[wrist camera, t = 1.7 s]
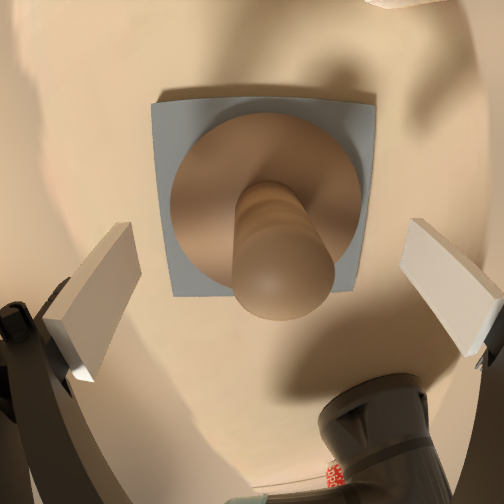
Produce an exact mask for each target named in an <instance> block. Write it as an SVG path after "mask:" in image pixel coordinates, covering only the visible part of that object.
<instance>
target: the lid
mask: <svg viewBox="0 0 504 504" xmlns="http://www.w3.org/2000/svg"><path fill="white" fill-rule="evenodd" d="M360 213H361V190H360V185H359V180H358V177H357V174H356V171H355V168H354V166H353V164H352V162H351V160H350V158H349V157H348V155H347V154H346V152H345V151H344V150H343V148H342V147H341V146H340V144H339V143H338V142H337V141H336V140H335V139H334V138H333V137H332V136H330V135H329V134H328V133H326V132H325V131H324V130H322V129H321V128H319V127H318V126H316V125H314V124H312V123H310V122H308V121H306V120H303V119H300V118H298V117H294V116H290V115H286V114H279V113H253V114H248V115H243V116H239V117H236V118H233V119H231V120H228V121H226V122H224V123H222V124H220V125H218V126H216V127H215V128H214V129H212V130H211V131H209V132H208V133H207V134H205V135H204V136H203V137H202V138H201V139H199V140H198V141H197V142H196V143H195V144H194V145H193V147H192V148H191V149H190V150H189V152H188V153H187V154H186V155H185V157H184V159H183V160H182V162H181V164H180V166H179V168H178V170H177V173H176V175H175V178H174V181H173V185H172V189H171V196H170V216H171V222H172V227H173V230H174V233H175V236H176V239H177V241H178V243H179V245H180V247H181V249H182V250H183V252H184V253H185V255H186V256H187V258H188V259H189V260H190V261H191V262H192V263H193V264H194V266H195V267H197V268H198V269H199V270H200V271H201V272H202V273H203V274H205V275H206V276H208V277H209V278H211V279H212V280H214V281H216V282H217V283H219V284H221V285H223V286H226V287H229V288H231V289H233V292H234V295H235V297H236V299H237V300H238V302H239V303H240V304H241V306H242V307H243V308H244V309H246V310H247V311H248V312H250V313H251V314H253V315H255V316H257V317H260V318H263V319H267V320H273V321H285V320H291V319H296V318H299V317H302V316H304V315H306V314H308V313H310V312H312V311H313V310H315V309H316V308H317V307H318V306H320V305H321V304H322V303H323V301H324V300H325V299H326V298H327V296H328V295H329V293H330V291H331V289H332V287H333V284H334V280H335V267H334V265H335V264H336V263H337V262H338V260H339V259H340V258H341V257H342V256H343V254H344V253H345V251H346V250H347V248H348V247H349V245H350V243H351V241H352V239H353V237H354V235H355V232H356V229H357V226H358V223H359V218H360Z"/></svg>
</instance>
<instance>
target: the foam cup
mask: <svg viewBox="0 0 504 504" xmlns="http://www.w3.org/2000/svg"><path fill="white" fill-rule="evenodd" d="M364 1H366V2H367V3H369V4H372V5H375V6H379V7H382V8H385V9H393V8H402V7H409V6H414V5H419V4H425V3H431V2H438V1H445V0H364Z"/></svg>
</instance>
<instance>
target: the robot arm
mask: <svg viewBox="0 0 504 504" xmlns="http://www.w3.org/2000/svg"><path fill="white" fill-rule="evenodd" d="M399 267H400V269H401V270H402V271H403V272H404V274H405V275H406V276H407V277H408V279H409V280H410V281H411V283H412V284H413V285H414V287H415V288H416V289H417V290H418V292H419V293H420V294H421V296H422V297H423V299H424V300H425V301H426V303H427V304H428V305H429V307H430V308H431V310H432V311H433V312H434V314H435V315H436V317H437V318H438V319H439V321H440V322H441V324H442V325H443V327H444V328H445V330H446V331H447V332H448V334H449V335H450V337H451V338H452V340H453V341H454V343H455V345H456V346H457V348H458V349H459V351H460V352H461V354H462V355H463V357H464V358H465V357H468V356H471V355H474V354H477V352H478V351H479V349H480V347H481V346H482V344H483V342H484V343H485V344H486V346H487V349H486V350H485V352H484V353H483V355H482V357H481V358H480V360H479V361H478V363H477V364H476V367H475V369H477V368H478V367H479V365H481V364H483V365H482V368H481V369H480V371H482V375H481V384H480V391H479V399H478V405H477V411H476V416H475V421H474V426H473V431H472V435H471V439H470V443H469V447H468V451H467V455H466V458H465V462H464V466H463V469H462V472H461V475H460V478H459V481H458V484H457V486H456V489H455V492H454V495H452V492H451V489H450V486H449V483H448V481H447V478H446V475H445V473H444V470H443V467H442V465H441V462H440V459H439V457H438V454H437V452H436V449H435V447H434V445H433V442H432V440H431V437H430V433H429V417H428V403H427V394H426V391H425V389H424V387H423V385H422V383H421V381H420V380H419V378H417V377H416V376H413V375H409V374H395V375H389V376H385V377H381V378H377V379H374V380H371V381H369V382H366V383H364V384H361V385H359V386H357V387H355V388H353V389H351V390H349V391H347V392H345V393H344V394H342V395H340V396H339V397H337V398H336V399H335V400H333V401H332V402H331V403H330V404H329V405H327V406H326V407H325V409H324V410H323V411H322V412H321V414H320V416H319V419H318V425H319V430H320V435H321V438H322V440H323V441H324V443H325V444H326V446H327V448H328V449H329V451H330V452H331V454H332V455H333V457H334V458H335V460H336V461H337V463H338V464H339V466H340V467H341V469H342V473H343V477H344V482H345V484H344V485H339V486H334V487H328V488H323V489H317V490H311V491H304V492H296V493H288V494H278V495H268V494H263V495H262V496H251V497H237V498H233V499H230V500H228V501H227V502H226V503H225V504H504V293H503V292H502V291H501V290H500V289H499V288H498V287H497V286H496V285H495V284H494V283H493V282H492V281H491V280H490V279H489V278H488V277H487V276H486V275H485V274H484V273H483V272H482V271H481V270H480V269H479V268H478V267H477V266H476V265H475V264H474V263H473V262H472V261H471V260H470V259H469V258H468V257H467V256H465V255H464V254H463V253H462V252H461V251H460V250H459V249H458V248H457V247H455V246H454V245H453V244H452V243H451V242H450V241H449V240H447V239H446V238H445V237H444V236H443V235H442V234H440V233H439V232H438V231H437V230H436V229H435V228H433V227H432V226H431V225H430V224H428V223H427V222H426V221H425V220H424V219H421V218H410V223H409V227H408V232H407V236H406V241H405V245H404V249H403V253H402V257H401V261H400V265H399ZM141 274H142V273H141V269H140V265H139V260H138V255H137V251H136V246H135V241H134V236H133V230H132V225H131V222H126V223H116V224H115V225H114V226H113V227H112V228H111V229H110V231H109V232H108V233H107V234H106V235H105V236H104V238H103V239H102V240H101V241H100V242H99V243H98V245H97V246H96V247H95V248H94V249H93V251H92V252H91V253H90V254H89V256H88V257H87V258H86V259H85V260H84V262H83V263H82V264H81V265H80V267H79V268H78V270H77V271H76V272H75V273H74V274H73V276H72V277H68V278H67V279H65V280H64V281H63V282H62V283H60V284H59V285H58V286H57V288H56V289H55V290H54V292H53V294H51V296H50V297H49V298H48V301H46V302H45V304H44V305H43V306H42V308H41V310H40V311H39V312H38V314H37V315H36V316H35V318H34V319H32V317H31V315H30V313H29V311H28V309H27V307H26V305H25V303H23V302H12V303H9V304H7V305H6V306H4V307H3V308H2V309H1V310H0V335H1V336H2V338H3V340H0V504H34V499H33V493H32V488H31V482H30V474H29V468H30V471H31V474H32V476H33V479H34V482H35V485H36V487H37V490H38V492H39V495H40V497H41V499H42V502H43V504H133V503H132V502H131V500H130V499H129V497H128V496H127V494H126V493H125V491H124V490H123V489H122V487H121V485H120V484H119V482H118V480H117V479H116V477H115V476H114V474H113V472H112V471H111V469H110V467H109V465H108V464H107V462H106V460H105V458H104V456H103V455H102V453H101V452H100V449H99V447H98V445H97V443H96V441H95V439H94V437H93V435H92V433H91V431H90V429H89V427H88V425H87V423H86V421H85V419H84V416H83V414H82V412H81V410H80V407H79V405H78V403H77V400H76V398H75V395H74V393H73V390H72V388H71V385H70V382H69V381H68V379H67V378H66V374H67V372H68V370H69V368H70V370H71V371H72V373H73V375H74V376H75V377H76V379H79V380H85V381H91V382H95V379H96V377H97V374H98V371H99V369H100V366H101V364H102V361H103V359H104V356H105V354H106V351H107V349H108V347H109V344H110V342H111V340H112V337H113V334H114V333H115V330H116V328H117V326H118V323H119V321H120V319H121V317H122V315H123V312H124V310H125V308H126V306H127V304H128V301H129V299H130V297H131V295H132V293H133V291H134V289H135V287H136V285H137V283H138V280H139V278H140V276H141ZM28 465H29V466H28Z"/></svg>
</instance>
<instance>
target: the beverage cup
mask: <svg viewBox="0 0 504 504" xmlns="http://www.w3.org/2000/svg"><path fill="white" fill-rule="evenodd" d="M326 475H327V484H328V487H334V486H339V485H344V484H345V482H344V477H343V473H342V469H341V467H340V466H339V464H338V463H337V461H336V460H335V461H332V462H330V463H328V464H327V465H326Z"/></svg>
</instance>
